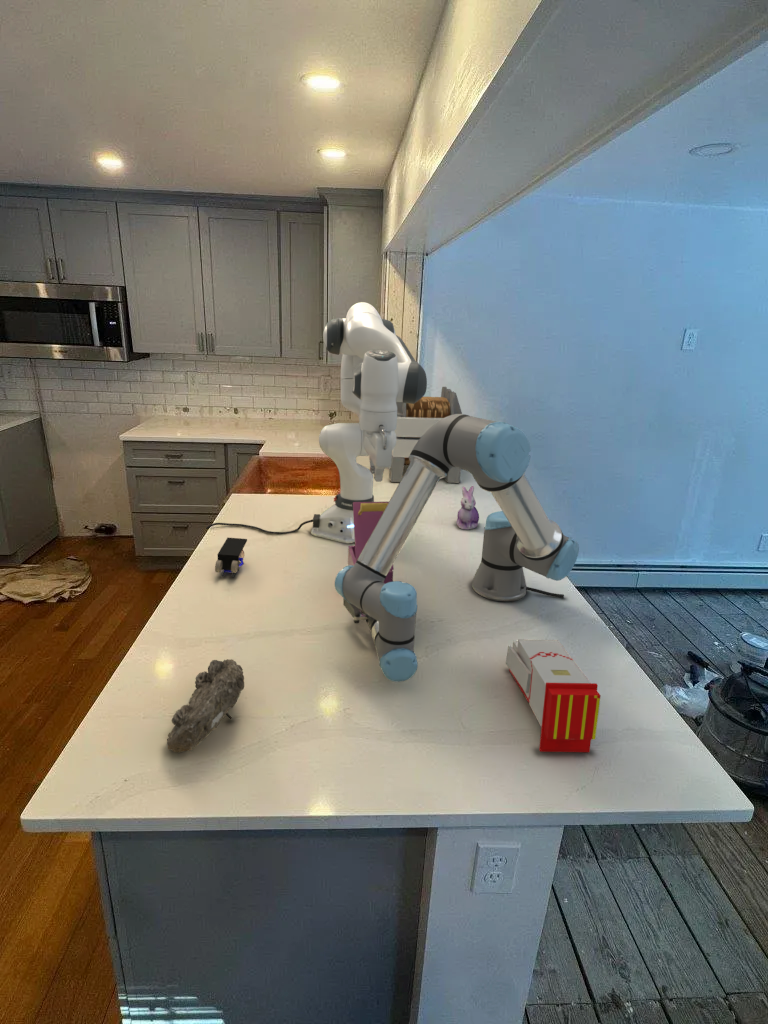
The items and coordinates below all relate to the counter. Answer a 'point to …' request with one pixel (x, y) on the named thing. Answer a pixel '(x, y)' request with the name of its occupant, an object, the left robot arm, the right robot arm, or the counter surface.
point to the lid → (366, 522)
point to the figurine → (468, 510)
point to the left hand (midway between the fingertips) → (375, 476)
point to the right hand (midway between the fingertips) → (371, 584)
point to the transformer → (421, 429)
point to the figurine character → (230, 556)
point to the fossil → (206, 705)
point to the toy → (556, 694)
